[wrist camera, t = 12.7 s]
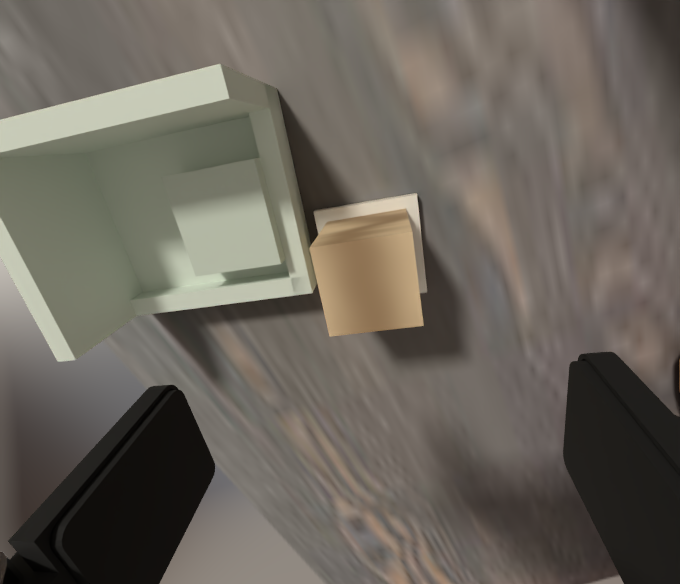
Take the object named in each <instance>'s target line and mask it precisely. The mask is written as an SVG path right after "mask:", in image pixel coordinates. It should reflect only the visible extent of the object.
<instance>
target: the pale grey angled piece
mask: <svg viewBox="0 0 680 584" xmlns="http://www.w3.org/2000/svg"><path fill="white" fill-rule="evenodd" d="M310 246H311V241H310V237H309V232H308V227H307V223H306V218H305V214H304V209H303V205H302V200H301V196H300V191H299V187H298V182H297V177H296V173H295V168H294V164H293V159H292V155H291V150H290V146H289V141H288V137H287V132H286V128H285V123H284V118H283V114H282V109H281V105H280V100H279V96H278V91H277V88H274V87H272V86H270V85H268V84H265V83H263V82H261V81H258V80H256V79H254V78H252V77H249V76H247V75H245V74H242V73H240V72H238V71H236V70H233V69H231V68H229V67H227V66H224V65H222V64H217V65H213V66H209V67H206V68H202V69H198V70H194V71H190V72H186V73H182V74H178V75H174V76H170V77H166V78H162V79H159V80H155V81H151V82H147V83H143V84H139V85H135V86H131V87H127V88H123V89H119V90H115V91H111V92H108V93H104V94H100V95H96V96H92V97H88V98H84V99H80V100H76V101H72V102H68V103H64V104H60V105H57V106H53V107H49V108H45V109H41V110H37V111H33V112H29V113H25V114H21V115H17V116H13V117H9V118H6V119H2V120H0V258H1V260H2V261H3V263H4V265H5V267H6V269H7V270H8V272H9V274H10V276H11V277H12V279H13V281H14V283H15V285H16V287H17V288H18V290H19V292H20V294H21V296H22V298H23V299H24V301H25V303H26V305H27V307H28V308H29V310H30V312H31V314H32V316H33V318H34V319H35V321H36V323H37V325H38V327H39V328H40V330H41V332H42V334H43V336H44V338H45V339H46V341H47V343H48V345H49V347H50V348H51V350H52V352H53V354H54V356H55V357H56V359H57V361H58V362H60V361H69V360H76V359H78V358H79V357H80V356H82V355H83V354H85V353H86V352H87V351H89V350H90V349H92V348H93V347H94V346H96V345H97V344H98V343H100V342H101V341H103V340H104V339H105V338H107V337H108V336H110V335H111V334H112V333H114V332H115V331H116V330H118V329H119V328H121V327H122V326H123V325H125V324H126V323H128V322H129V321H130V320H132V319H133V318H134V317H136V316H141V315H148V314H156V313H164V312H171V311H179V310H187V309H195V308H202V307H210V306H218V305H225V304H233V303H241V302H248V301H256V300H264V299H272V298H279V297H287V296H295V295H302V294H310V293H313V291H314V289H315V287H316V284H317V279H316V275H315V271H314V266H313V262H312V258H311V253H310V249H309V248H310Z"/></svg>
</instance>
